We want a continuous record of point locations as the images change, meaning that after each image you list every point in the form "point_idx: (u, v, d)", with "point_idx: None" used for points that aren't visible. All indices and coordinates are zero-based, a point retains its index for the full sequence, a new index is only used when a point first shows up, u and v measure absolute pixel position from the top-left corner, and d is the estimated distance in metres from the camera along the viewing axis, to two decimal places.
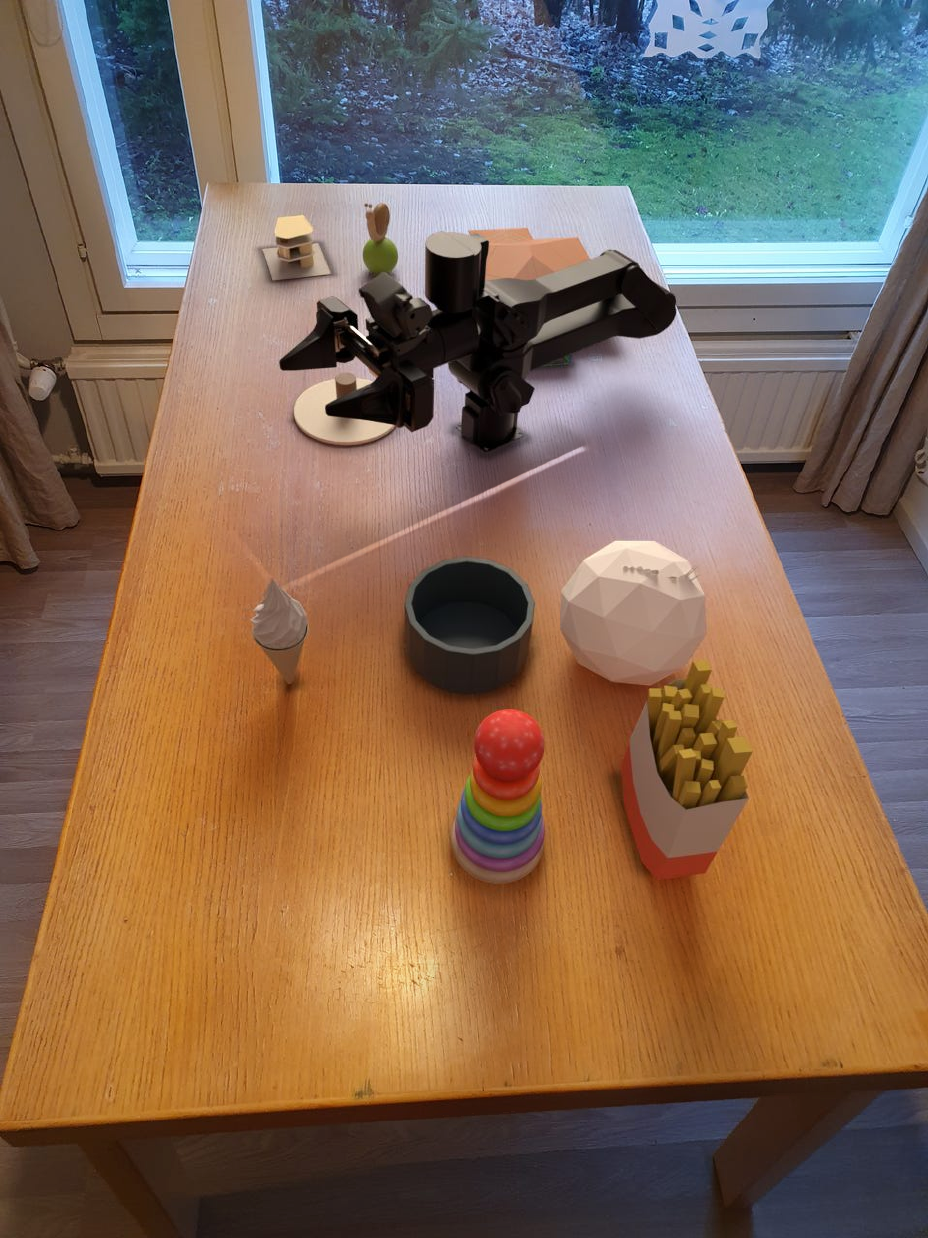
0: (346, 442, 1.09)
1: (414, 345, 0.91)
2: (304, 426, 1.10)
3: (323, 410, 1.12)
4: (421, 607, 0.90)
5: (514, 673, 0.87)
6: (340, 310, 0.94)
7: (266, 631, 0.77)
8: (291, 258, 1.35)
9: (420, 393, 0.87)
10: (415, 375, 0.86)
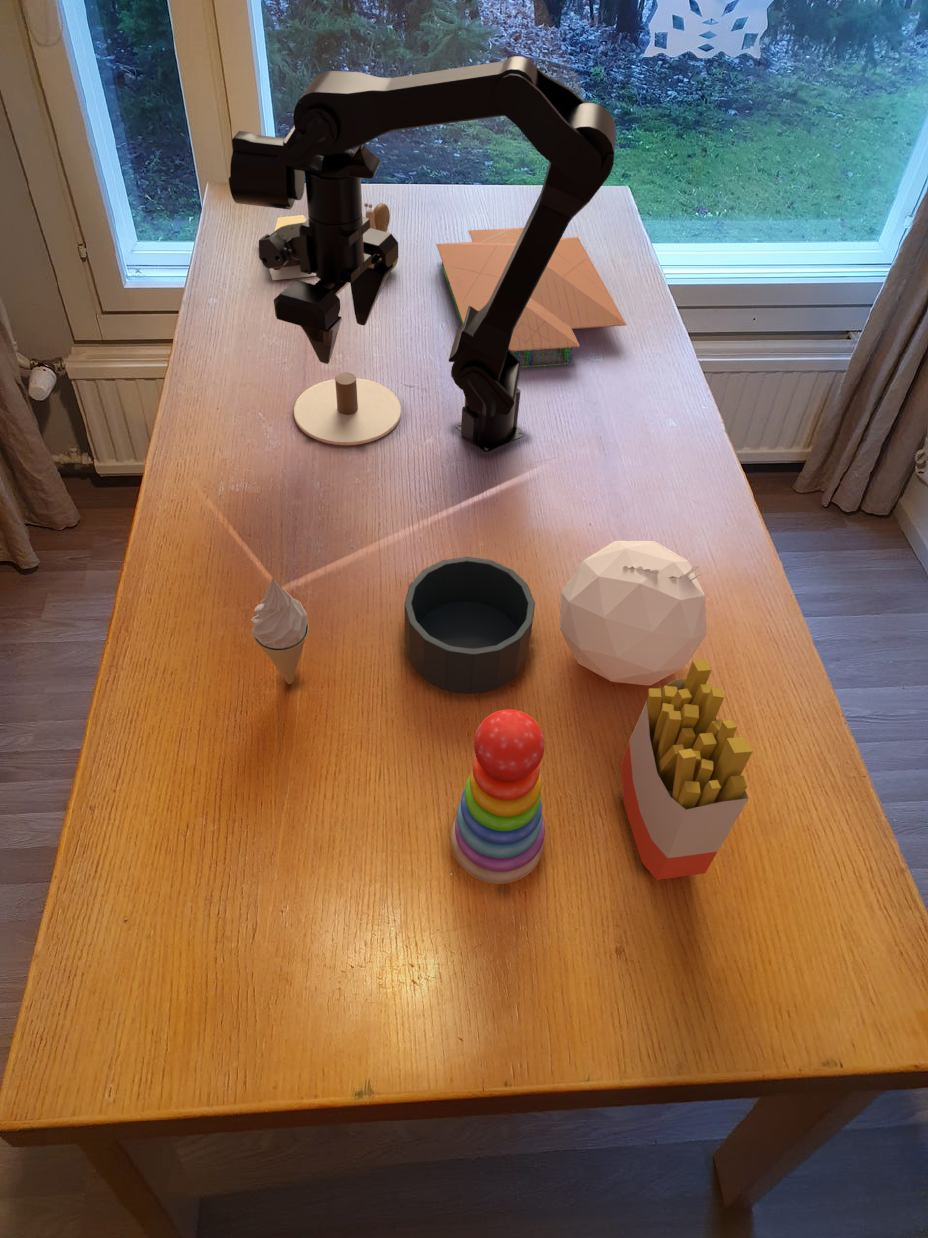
0: (346, 442, 1.09)
1: (305, 253, 0.96)
2: (304, 426, 1.10)
3: (323, 410, 1.12)
4: (421, 607, 0.90)
5: (514, 673, 0.87)
6: None
7: (266, 631, 0.77)
8: None
9: (283, 315, 0.94)
10: None
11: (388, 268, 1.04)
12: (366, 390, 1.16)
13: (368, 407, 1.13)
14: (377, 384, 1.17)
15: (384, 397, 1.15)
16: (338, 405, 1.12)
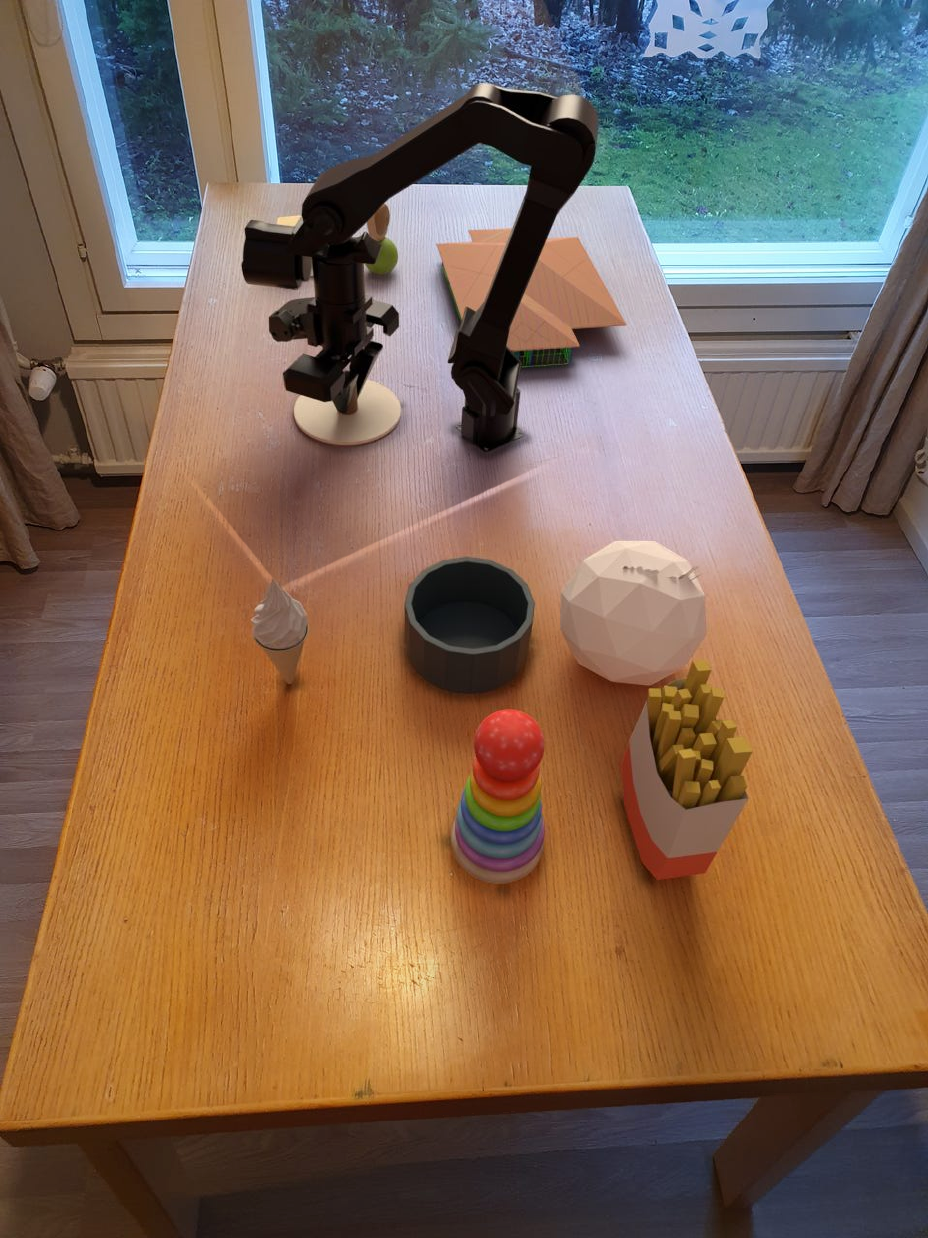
0: (346, 442, 1.09)
1: (312, 329, 1.02)
2: (304, 426, 1.10)
3: (323, 410, 1.12)
4: (421, 607, 0.90)
5: (514, 673, 0.87)
6: None
7: (266, 631, 0.77)
8: None
9: (291, 387, 1.01)
10: None
11: (378, 349, 1.09)
12: (366, 390, 1.16)
13: (368, 407, 1.13)
14: (377, 384, 1.17)
15: (384, 397, 1.15)
16: None
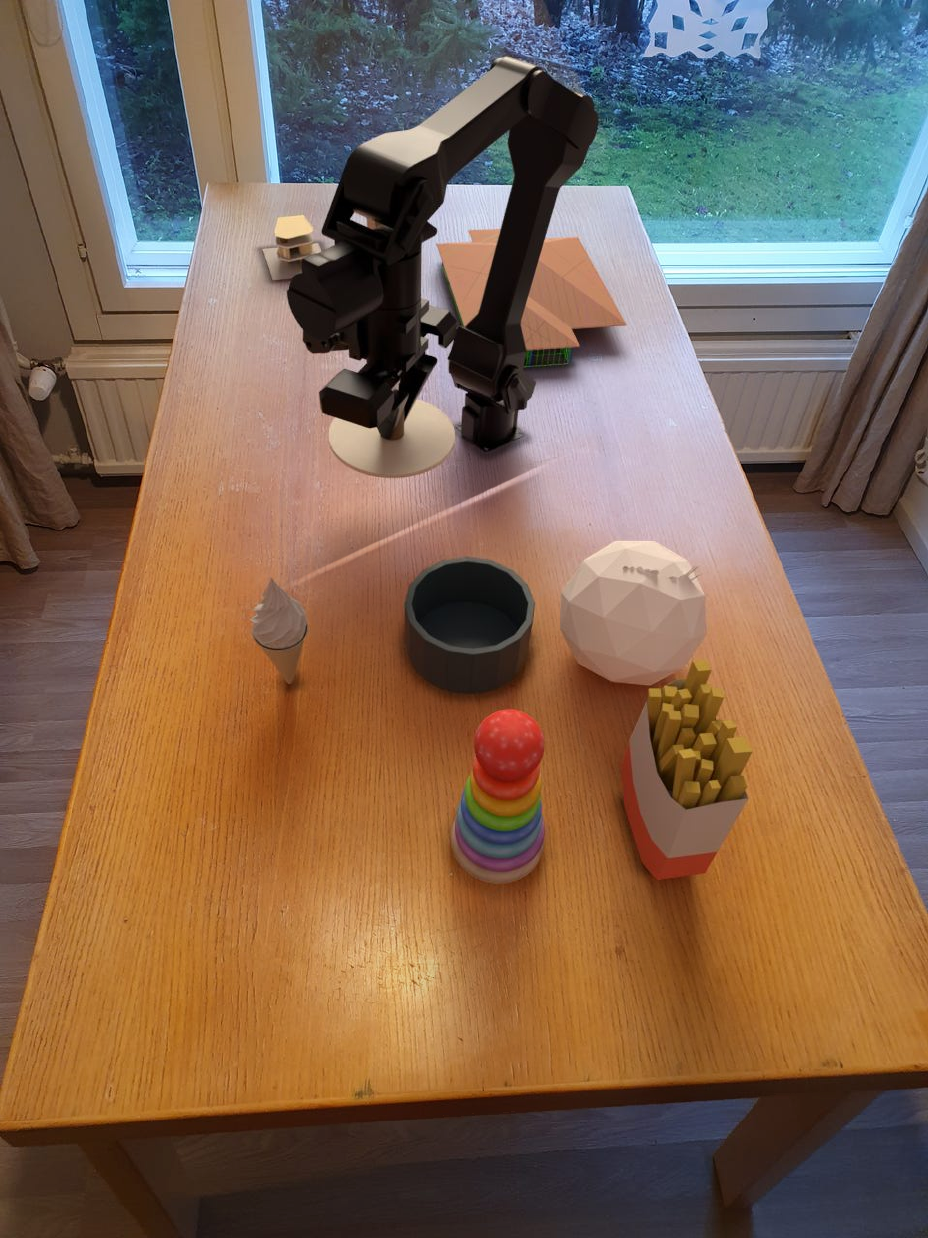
0: (391, 474, 0.90)
1: (355, 339, 0.84)
2: (341, 454, 0.92)
3: (363, 434, 0.94)
4: (421, 607, 0.90)
5: (514, 673, 0.87)
6: None
7: (266, 631, 0.77)
8: (291, 258, 1.35)
9: (329, 409, 0.83)
10: None
11: (432, 364, 0.91)
12: (413, 410, 0.98)
13: (416, 432, 0.95)
14: (426, 404, 0.98)
15: (435, 419, 0.97)
16: None
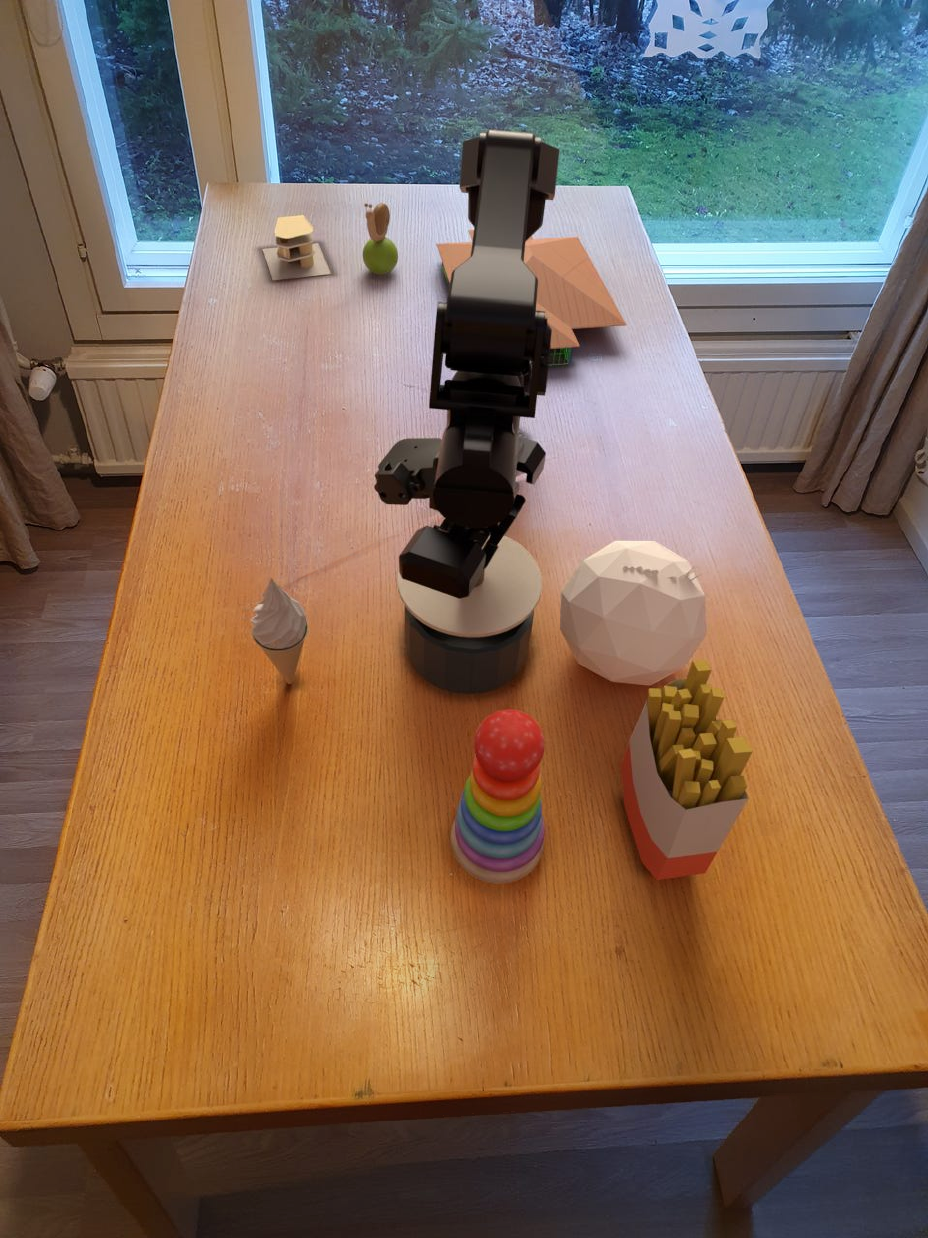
0: (474, 634, 0.78)
1: None
2: (414, 608, 0.80)
3: None
4: None
5: (514, 673, 0.87)
6: None
7: (266, 631, 0.77)
8: (291, 258, 1.35)
9: (411, 576, 0.71)
10: None
11: (520, 506, 0.79)
12: None
13: (497, 575, 0.83)
14: (505, 538, 0.86)
15: (517, 558, 0.85)
16: None
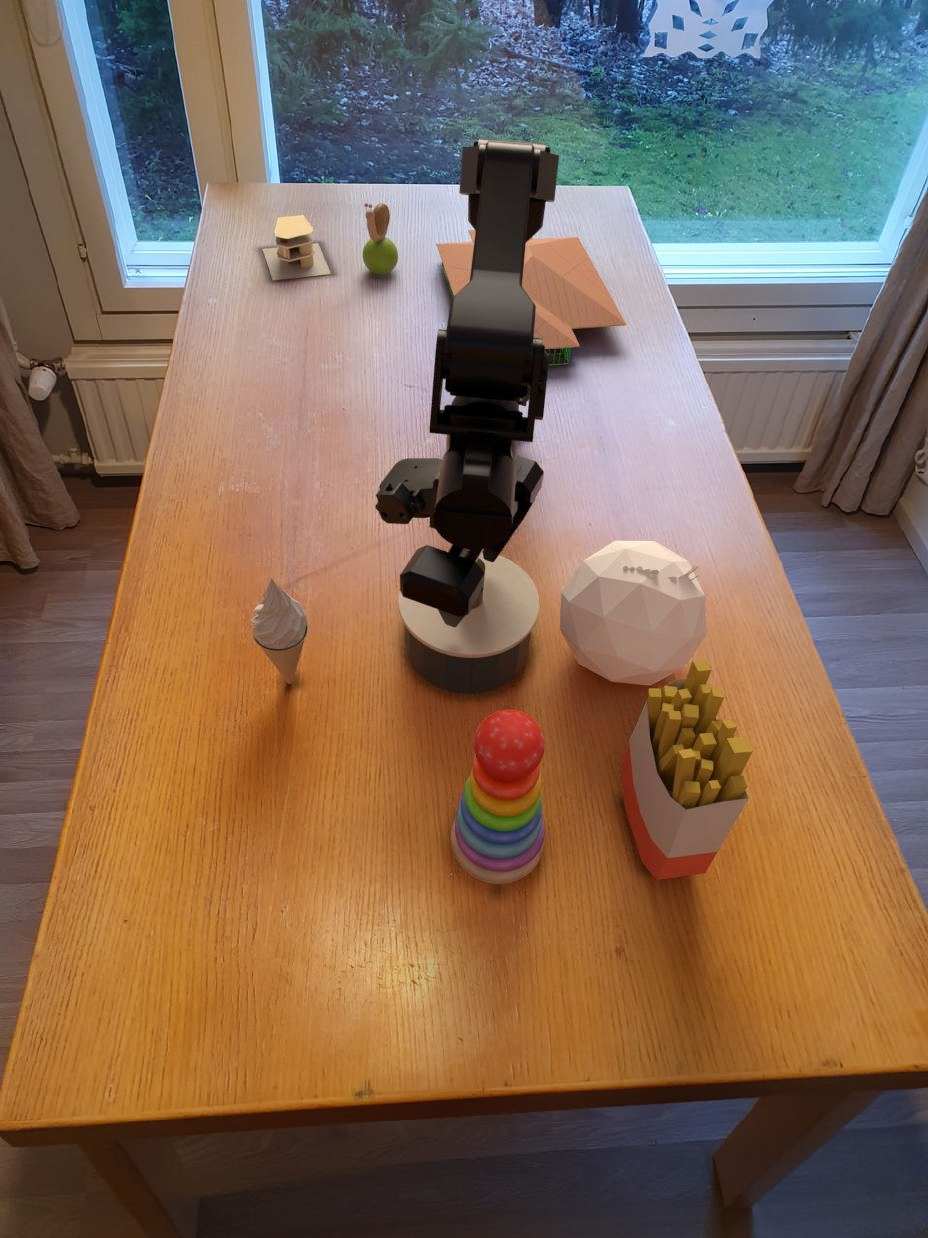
0: (473, 654, 0.81)
1: None
2: (415, 629, 0.82)
3: None
4: None
5: (514, 673, 0.87)
6: None
7: (266, 631, 0.77)
8: (291, 258, 1.35)
9: (411, 594, 0.72)
10: None
11: (530, 503, 0.82)
12: (489, 568, 0.88)
13: (496, 596, 0.85)
14: (503, 559, 0.89)
15: (515, 579, 0.87)
16: None
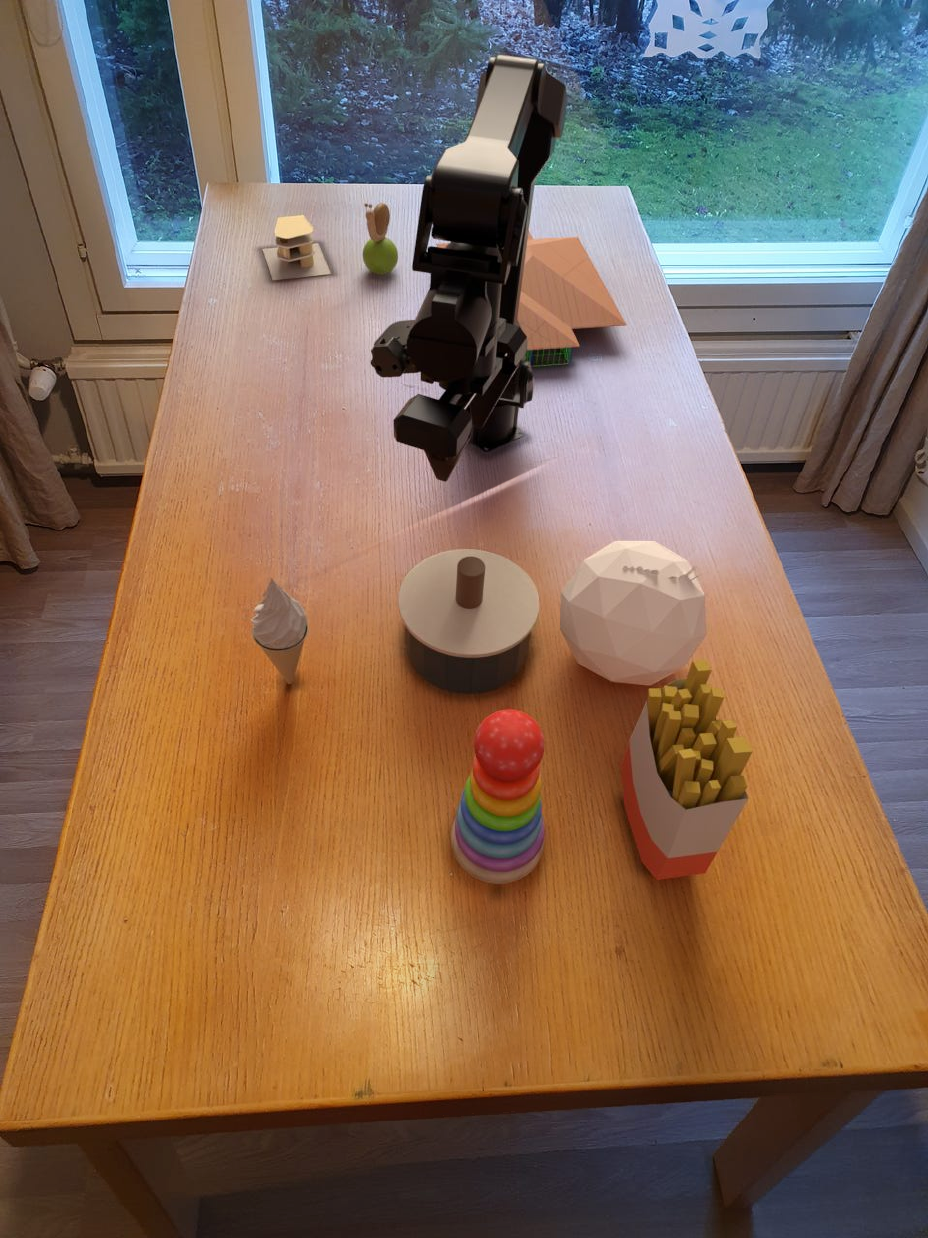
0: (473, 654, 0.81)
1: None
2: (415, 629, 0.82)
3: (437, 602, 0.84)
4: None
5: (514, 673, 0.87)
6: None
7: (266, 631, 0.77)
8: (291, 258, 1.35)
9: (404, 438, 0.79)
10: None
11: (515, 366, 0.88)
12: (489, 568, 0.88)
13: (496, 596, 0.85)
14: (503, 559, 0.89)
15: (515, 579, 0.87)
16: (458, 597, 0.84)
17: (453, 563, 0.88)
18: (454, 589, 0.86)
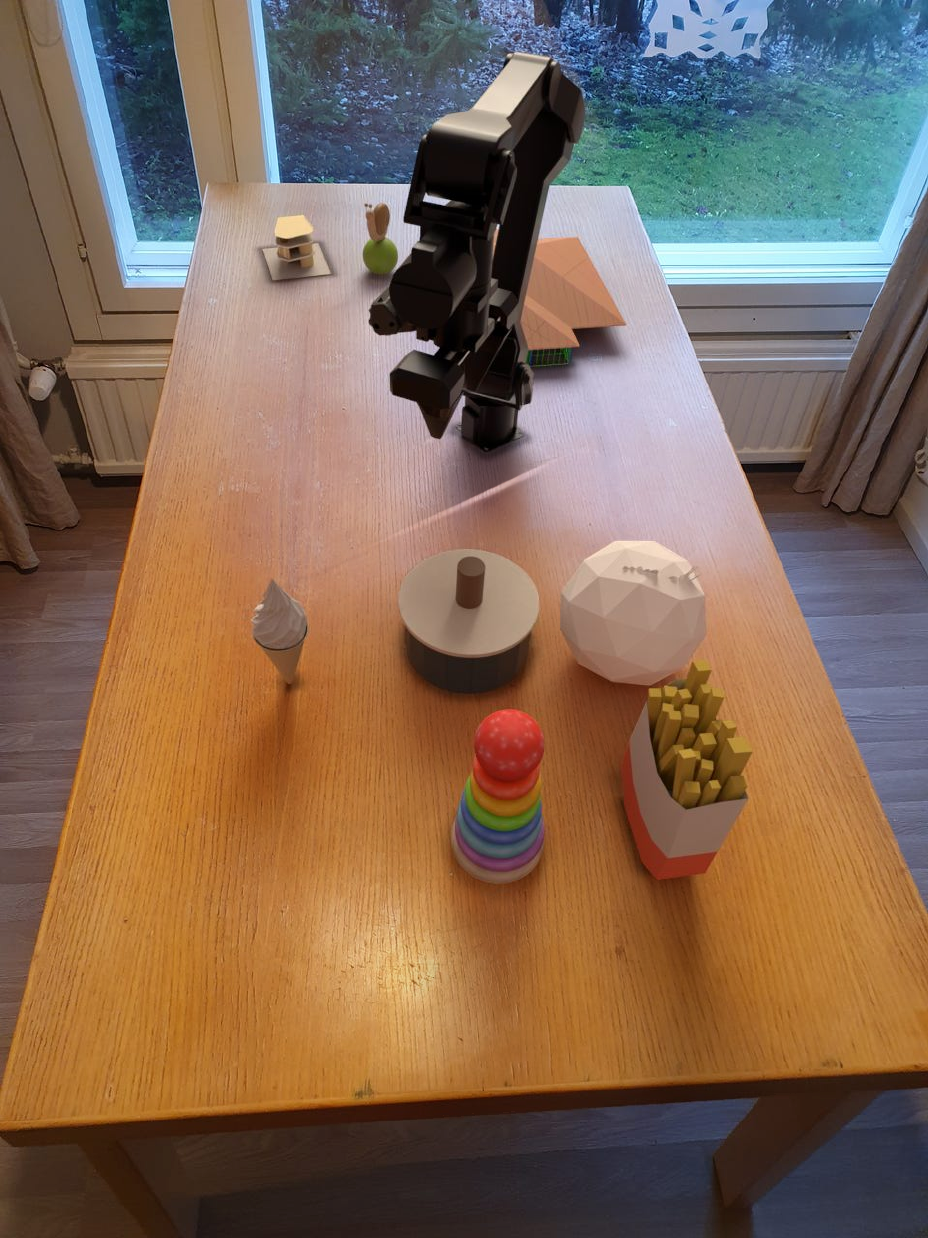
0: (473, 654, 0.81)
1: None
2: (415, 629, 0.82)
3: (437, 602, 0.84)
4: None
5: (514, 673, 0.87)
6: None
7: (266, 631, 0.77)
8: (291, 258, 1.35)
9: (400, 391, 0.82)
10: None
11: (507, 330, 0.92)
12: (489, 568, 0.88)
13: (496, 596, 0.85)
14: (503, 559, 0.89)
15: (515, 579, 0.87)
16: (458, 597, 0.84)
17: (453, 563, 0.88)
18: (454, 589, 0.86)
